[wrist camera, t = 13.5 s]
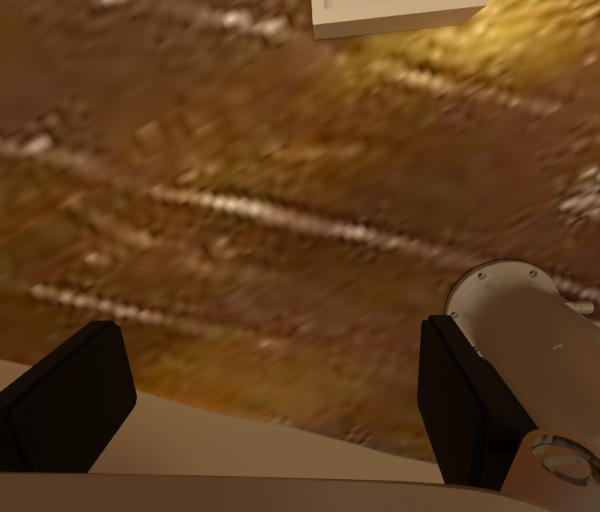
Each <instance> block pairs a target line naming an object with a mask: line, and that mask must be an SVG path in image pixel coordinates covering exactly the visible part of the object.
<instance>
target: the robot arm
mask: <svg viewBox="0 0 600 512" xmlns="http://www.w3.org/2000/svg"><path fill="white" fill-rule="evenodd" d="M480 273H481V274H480ZM479 274H480V275H479ZM593 311H594V306H593V303H592V302H591V301H576V302H570V301H568V300H567V299H565V298H564V297H562V296H561V295H559V291H558V288H557V286H556V284H555V283H554V281H553V280H552V279H551V278H550V276H549V275H548V274H547V273H545V272H544V271H542V270H541V269H540V268H538V267H536V266H534V265H532V264H530V263H527V262H524V261H520V260H512V259H507V260H497V261H492V262H488V263H486V264H483V265H481V266H478V267H476V268H475V269H473V270H471V271H470V272H468V273H467V274H466V275H465V276H463V277H462V278H461V279H460V280H459V281H458V283H457V284H456V285H455V286H454V287H453V289H452V291H451V293H450V294H449V297H448V300H447V303H446V307H445V315H430V316H429V318H428V320H423V321H422V325H421V342H420V359H419V376H418V393H417V400H418V407H419V410H420V413H421V416H422V419H423V422H424V425H425V428H426V430H427V433H428V436H429V439H430V442H431V445H432V448H433V451H434V454H435V457H436V460H437V462H438V465H439V468H440V471H441V474H442V477H443V480H444V483H445V484H438V483H422V482H407V481H382V480H351V479H316V478H315V479H313V478H281V477H280V478H279V477H244V476H203V475H157V474H156V475H155V474H106V473H88V471H89V470H90V468H91V467H92V466H93V464H94V463H95V461H96V460H97V459H98V457H99V456H100V454H101V453H102V452H103V450H104V449H105V447H106V446H107V444H108V443H109V442H110V440H111V439H112V437H113V436H114V435H115V433H116V432H117V431H118V429H119V428H120V426H121V425H122V424H123V422H124V421H125V419H126V418H127V417H128V415H129V414H130V412H131V411H132V410H133V408H134V406H135V404H136V400H137V395H136V390H135V386H134V382H133V378H132V374H131V370H130V366H129V362H128V358H127V354H126V349H125V345H124V341H123V337H122V333H121V329H120V327H119V326H118V325H116V324H115V323H114V322H113V321H91V322H90V323H88V324H87V325H86V326H84V327H83V328H82V329H81V330H79V331H78V332H77V333H75V334H74V335H73V336H72V337H70V338H69V339H68V340H66V341H65V342H64V343H63V344H61V345H60V346H59V347H57V348H56V349H55V350H54V351H52V352H51V353H50V354H48V355H47V356H46V357H45V358H43V359H42V360H41V361H39V362H38V363H37V364H36V365H34V366H33V367H32V368H31V369H29V370H28V371H27V372H25V373H24V374H23V375H22V376H20V377H19V378H18V379H16V380H15V381H14V382H13V383H11V384H10V385H9V386H8V387H6V388H5V389H4V390H3V391H1V392H0V512H600V320H599V319H596V318H585V317H584V316H582V315H581V314H589V313H593ZM452 312H453V313H452ZM480 357H483V358H484V359H485V360H482V359H481V358H480Z"/></svg>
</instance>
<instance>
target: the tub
mask: <svg viewBox="0 0 600 512" xmlns="http://www.w3.org/2000/svg"><path fill="white" fill-rule="evenodd" d="M486 3H487V0H312V17H313V31H314V40H322V39H331V38H340V37H349V36H359V35H368V34H377V33H386V32H396V31H405V30H414V29H423V28H432V27H442V26H451V25H460V24H464V23H465V22H466V21H468V20H469V19H470V18H471V17H473V16H474V15H475V14H476V13H477V12H479V11H480V10H481V9H482V8H484V7H485V6H486Z"/></svg>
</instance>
